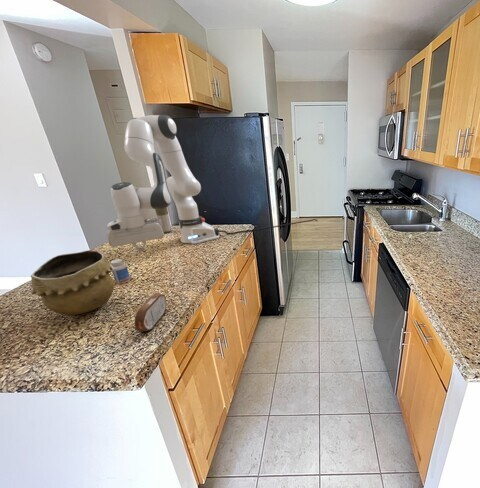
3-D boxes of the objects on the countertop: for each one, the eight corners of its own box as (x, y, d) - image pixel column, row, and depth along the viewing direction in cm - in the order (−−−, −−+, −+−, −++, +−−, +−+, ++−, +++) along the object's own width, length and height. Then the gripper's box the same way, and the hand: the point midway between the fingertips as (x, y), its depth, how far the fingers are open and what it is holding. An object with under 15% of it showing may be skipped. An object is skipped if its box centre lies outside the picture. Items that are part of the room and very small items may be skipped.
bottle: (168, 233, 174) (158, 188, 163) (158, 233, 174) (147, 188, 163) (174, 230, 180) (164, 186, 169) (164, 230, 180) (154, 186, 169)
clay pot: (108, 321, 89) (89, 269, 81) (30, 333, 83) (2, 279, 76) (132, 290, 107) (117, 245, 100) (69, 298, 102) (49, 251, 94)
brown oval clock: (161, 308, 95) (156, 289, 92) (170, 308, 96) (165, 288, 93) (137, 337, 82) (130, 315, 78) (148, 336, 82) (141, 314, 79)
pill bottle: (133, 277, 117) (127, 258, 114) (125, 283, 112) (119, 263, 109) (121, 278, 117) (114, 258, 113) (112, 284, 112) (105, 263, 108)
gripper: (159, 215, 119) (167, 243, 125) (103, 224, 109) (114, 253, 114) (161, 219, 114) (168, 247, 120) (102, 228, 104) (113, 259, 109)
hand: (141, 250), depth 117 cm, fingers closed
